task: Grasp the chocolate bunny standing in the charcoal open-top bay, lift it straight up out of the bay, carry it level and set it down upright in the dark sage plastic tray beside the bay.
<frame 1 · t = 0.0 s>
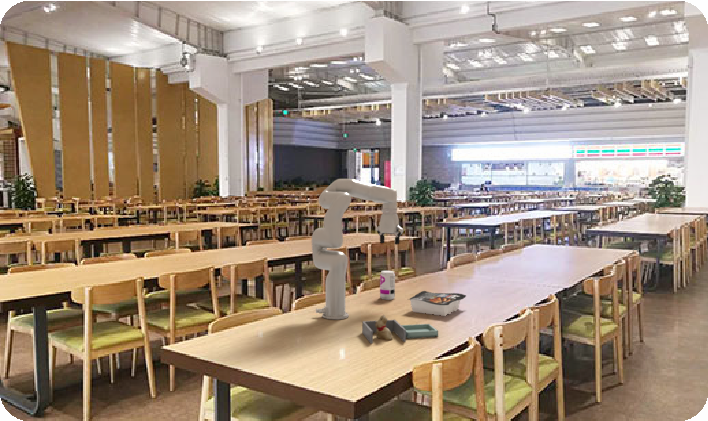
hand: (389, 243, 303), 31 cm above the table, tool pointing down, fingers open, 9 cm apart
food packaging: (436, 311, 282), on the table
chocolate bunny: (383, 338, 234), on the table
bay: (383, 337, 235), on the table
tray: (418, 333, 240), on the table
supplement can: (387, 298, 310), on the table
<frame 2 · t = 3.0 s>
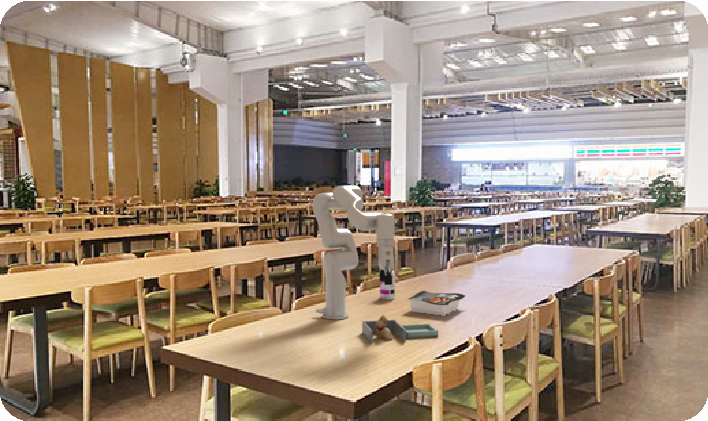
hand: (385, 282, 239), 22 cm above the table, tool pointing down, fingers open, 9 cm apart
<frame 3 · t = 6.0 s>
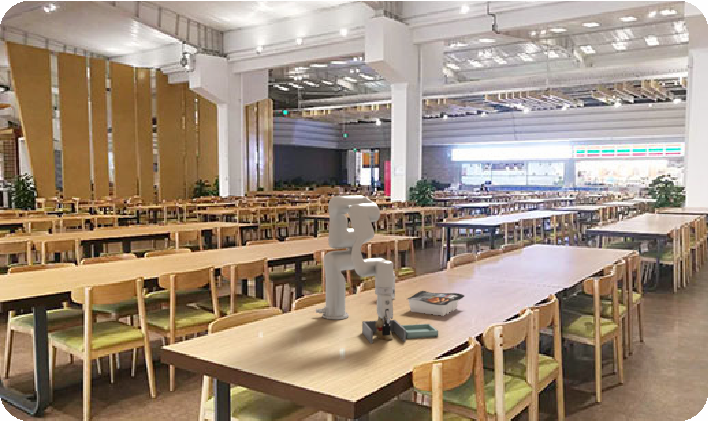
hand: (383, 332, 234), 2 cm above the table, tool pointing down, fingers closed on chocolate bunny, 6 cm apart
chocolate bunny: (384, 338, 234), on the table, touching gripper
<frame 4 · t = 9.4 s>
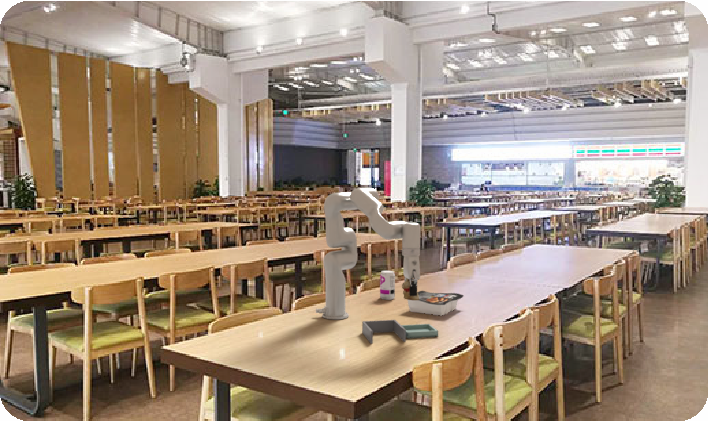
hand: (410, 293, 237), 18 cm above the table, tool pointing down, fingers closed on chocolate bunny, 6 cm apart
chocolate bunny: (410, 299, 237), point 15 cm above the table, touching gripper
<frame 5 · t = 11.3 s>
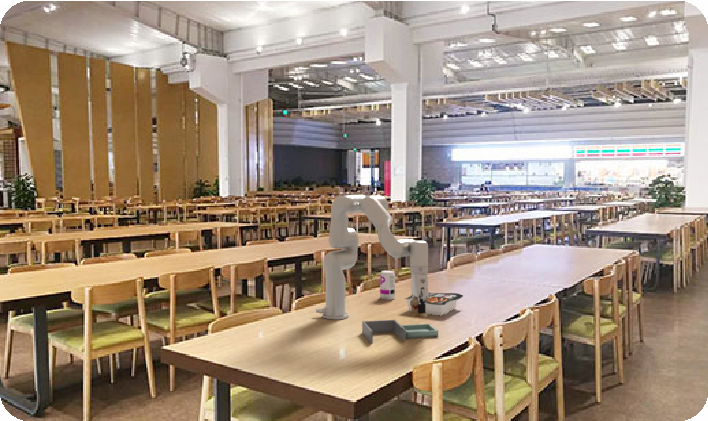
hand: (418, 310, 239), 10 cm above the table, tool pointing down, fingers closed on chocolate bunny, 6 cm apart
chocolate bunny: (419, 316, 239), point 8 cm above the table, touching gripper
when the fingers open (4 cm above the table, at t = 12.9 s): chocolate bunny stays where it is, resting on tray.
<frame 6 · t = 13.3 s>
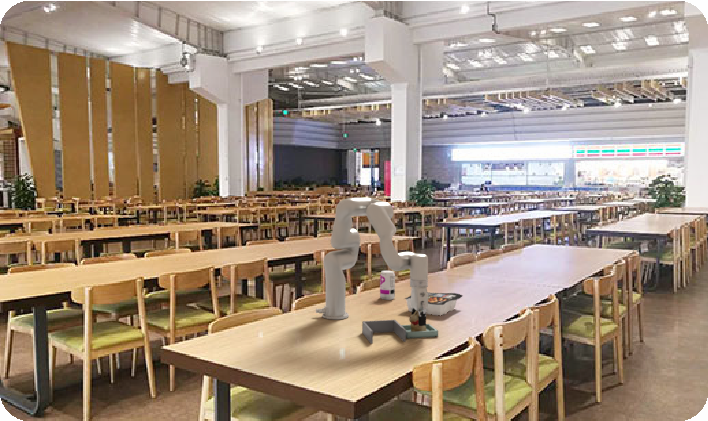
hand: (418, 322, 240), 5 cm above the table, tool pointing down, fingers open, 9 cm apart
chocolate bunny: (418, 332, 240), point 1 cm above the table, touching tray
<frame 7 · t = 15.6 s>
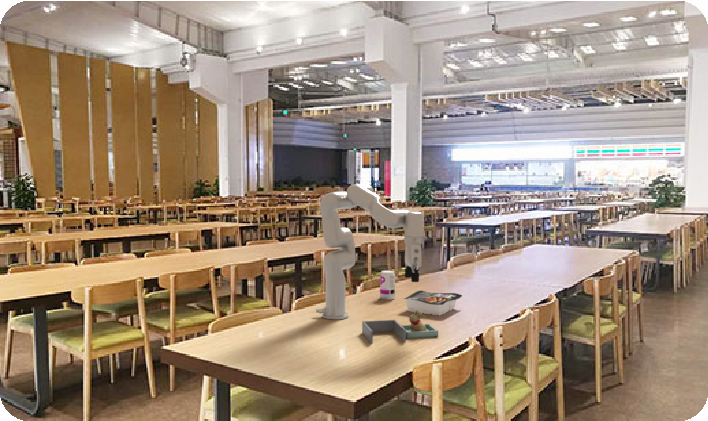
hand: (411, 279, 242), 23 cm above the table, tool pointing down, fingers open, 9 cm apart
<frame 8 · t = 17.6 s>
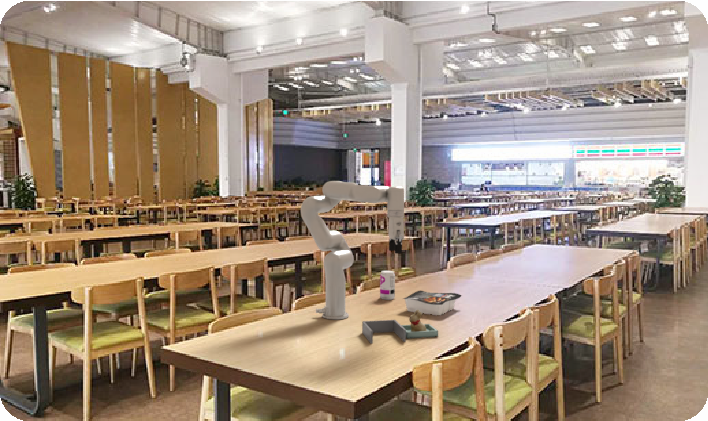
hand: (395, 252, 252), 33 cm above the table, tool pointing down, fingers open, 9 cm apart
at the end: chocolate bunny inside the target area on the tray (0.0 cm from its centre), point 0.6 cm above the tray's base; chocolate bunny tilted 0°; the gripper is holding nothing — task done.
